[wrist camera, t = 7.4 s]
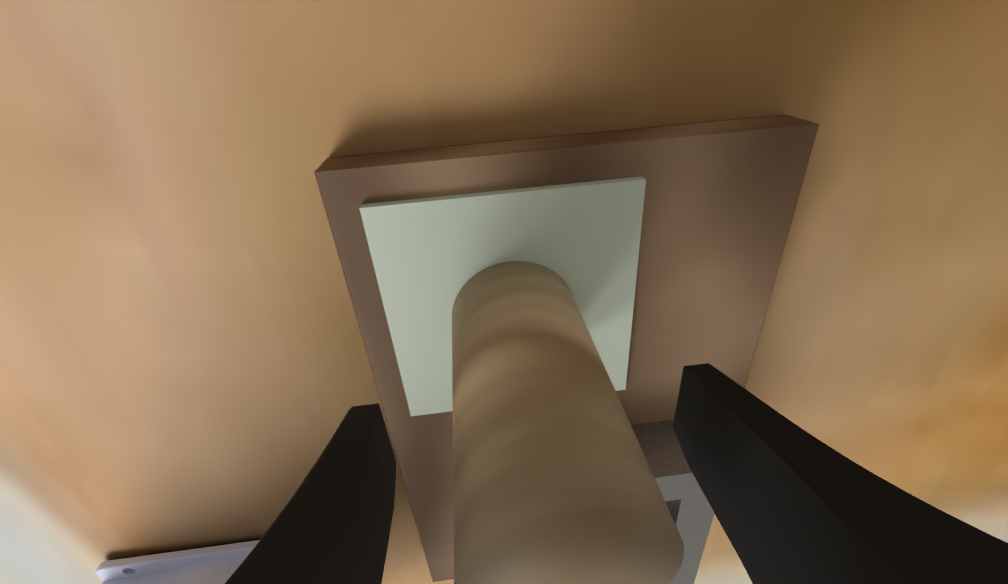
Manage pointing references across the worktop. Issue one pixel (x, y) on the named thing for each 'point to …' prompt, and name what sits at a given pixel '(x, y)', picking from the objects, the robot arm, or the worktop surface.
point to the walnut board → (660, 273)
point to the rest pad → (497, 239)
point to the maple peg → (545, 446)
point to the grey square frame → (677, 492)
